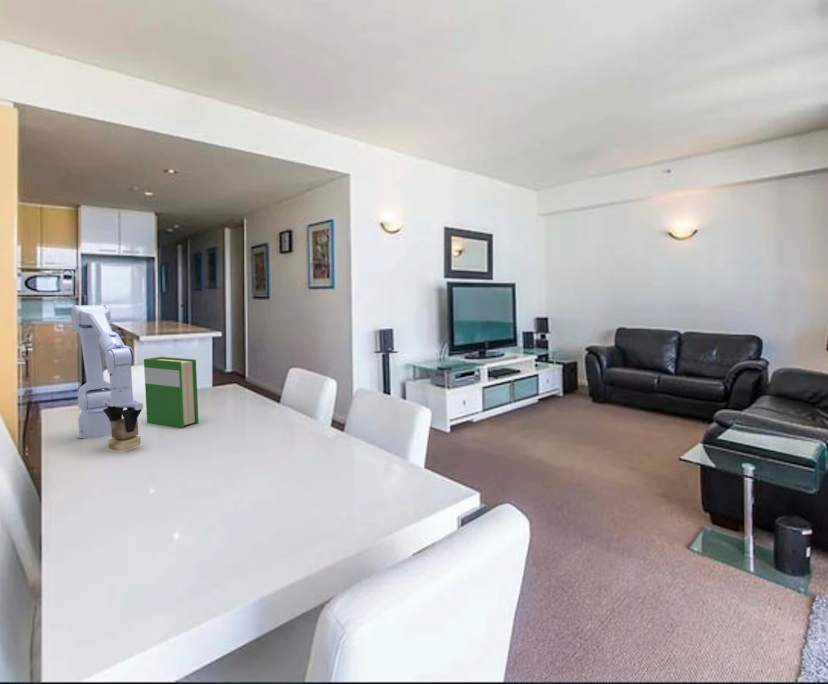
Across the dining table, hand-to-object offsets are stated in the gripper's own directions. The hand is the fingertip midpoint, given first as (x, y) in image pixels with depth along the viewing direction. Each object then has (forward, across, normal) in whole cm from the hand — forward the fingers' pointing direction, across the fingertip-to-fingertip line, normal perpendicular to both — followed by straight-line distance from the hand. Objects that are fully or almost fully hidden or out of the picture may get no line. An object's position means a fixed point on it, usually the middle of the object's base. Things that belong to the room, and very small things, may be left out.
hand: (123, 430), depth 147 cm
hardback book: (+6, -10, +28) cm, 30 cm away
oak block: (+5, 0, 0) cm, 5 cm away
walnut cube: (+2, 0, 0) cm, 2 cm away
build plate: (+6, -1, 0) cm, 6 cm away
